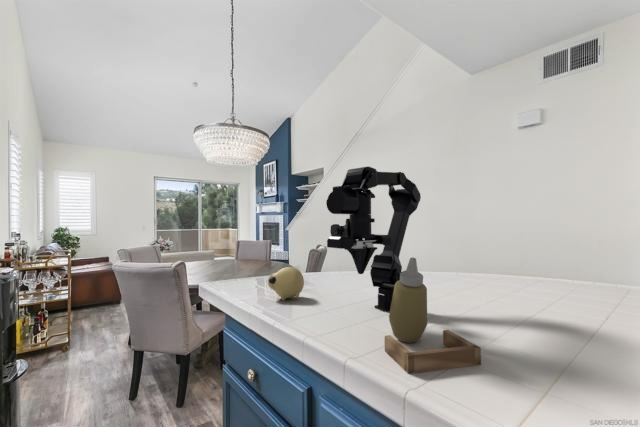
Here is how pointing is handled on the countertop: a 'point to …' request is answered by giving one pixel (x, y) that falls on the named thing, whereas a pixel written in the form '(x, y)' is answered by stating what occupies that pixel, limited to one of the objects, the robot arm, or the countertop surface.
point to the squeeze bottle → (409, 305)
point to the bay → (435, 354)
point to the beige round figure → (287, 282)
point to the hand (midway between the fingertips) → (360, 273)
